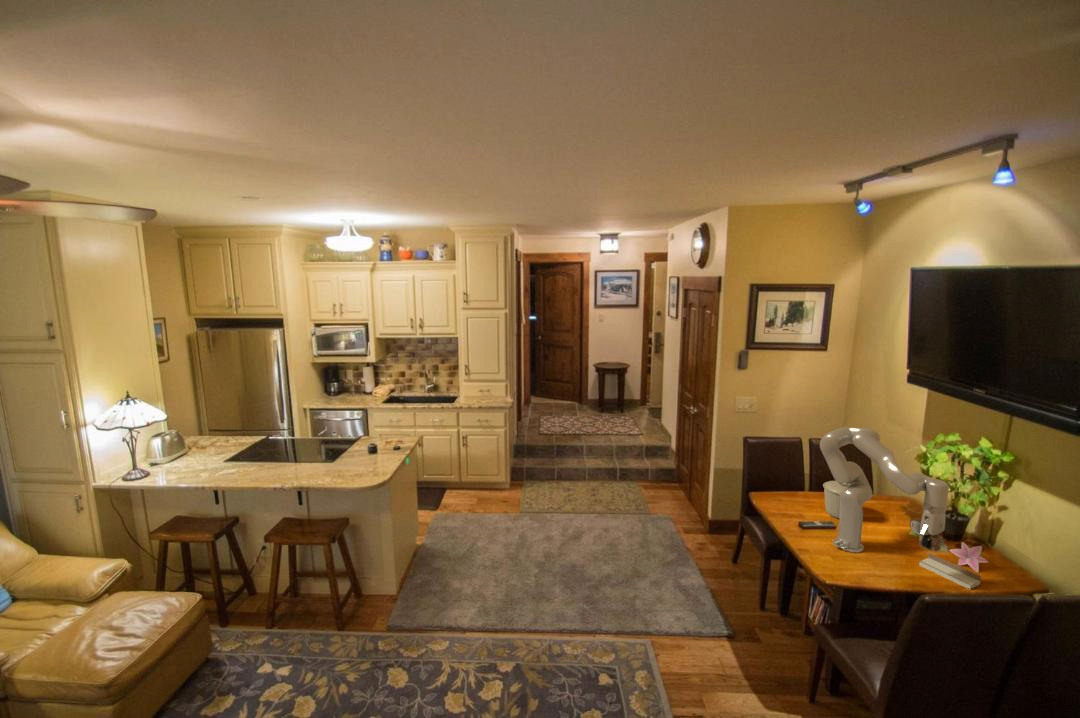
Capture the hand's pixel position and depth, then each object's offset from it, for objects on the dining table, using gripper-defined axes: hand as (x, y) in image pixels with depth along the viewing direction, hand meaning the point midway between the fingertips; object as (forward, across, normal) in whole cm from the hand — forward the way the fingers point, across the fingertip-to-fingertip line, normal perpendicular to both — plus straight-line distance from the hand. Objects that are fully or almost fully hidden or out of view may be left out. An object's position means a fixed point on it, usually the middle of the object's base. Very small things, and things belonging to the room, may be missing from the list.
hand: (929, 545), depth 203 cm
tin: (+17, +37, +19) cm, 45 cm away
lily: (+16, +28, -3) cm, 33 cm away
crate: (+1, 0, 0) cm, 1 cm away
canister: (+17, +21, +53) cm, 59 cm away
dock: (+16, +12, -3) cm, 20 cm away
